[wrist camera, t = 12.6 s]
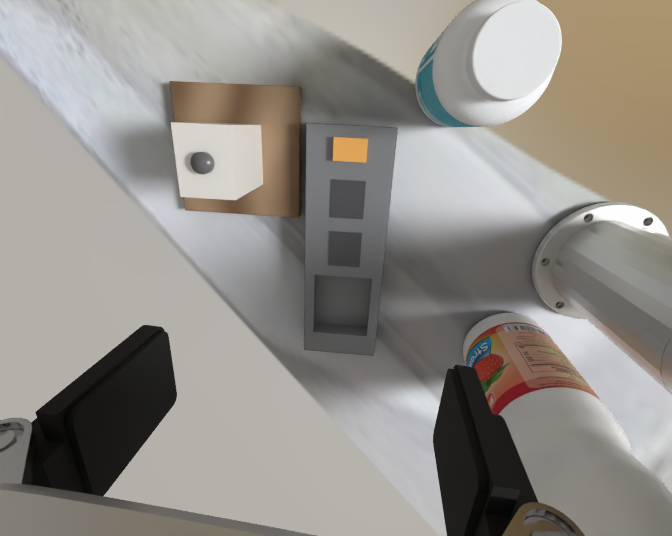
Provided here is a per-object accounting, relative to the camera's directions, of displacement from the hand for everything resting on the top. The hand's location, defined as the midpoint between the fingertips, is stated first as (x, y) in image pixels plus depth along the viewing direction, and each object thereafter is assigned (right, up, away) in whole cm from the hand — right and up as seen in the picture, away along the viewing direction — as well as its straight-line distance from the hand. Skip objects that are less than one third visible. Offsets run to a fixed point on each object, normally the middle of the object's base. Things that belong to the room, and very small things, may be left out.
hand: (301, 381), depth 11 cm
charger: (-8, +15, +22) cm, 28 cm away
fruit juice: (+21, -5, +30) cm, 36 cm away
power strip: (+2, +6, +26) cm, 27 cm away
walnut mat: (-8, +15, +24) cm, 29 cm away
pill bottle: (+12, +20, +20) cm, 31 cm away
